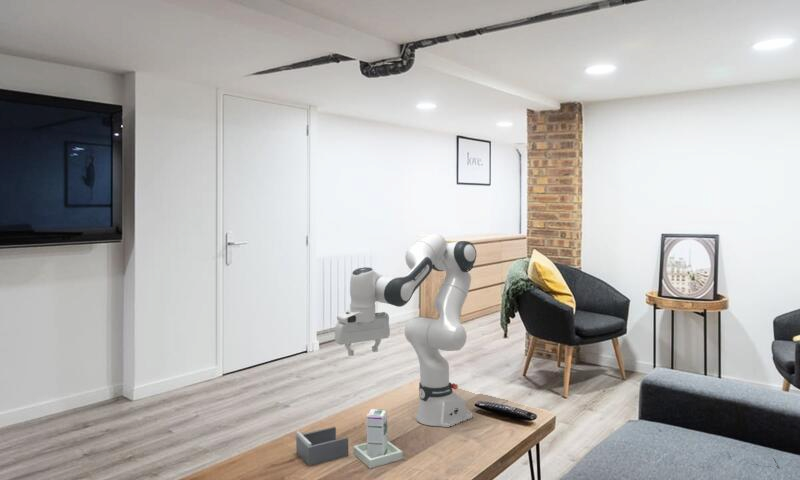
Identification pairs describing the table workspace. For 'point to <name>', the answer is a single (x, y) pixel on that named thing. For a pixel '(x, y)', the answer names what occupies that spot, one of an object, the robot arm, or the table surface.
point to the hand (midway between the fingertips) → (363, 353)
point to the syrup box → (376, 433)
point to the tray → (391, 456)
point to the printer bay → (320, 446)
